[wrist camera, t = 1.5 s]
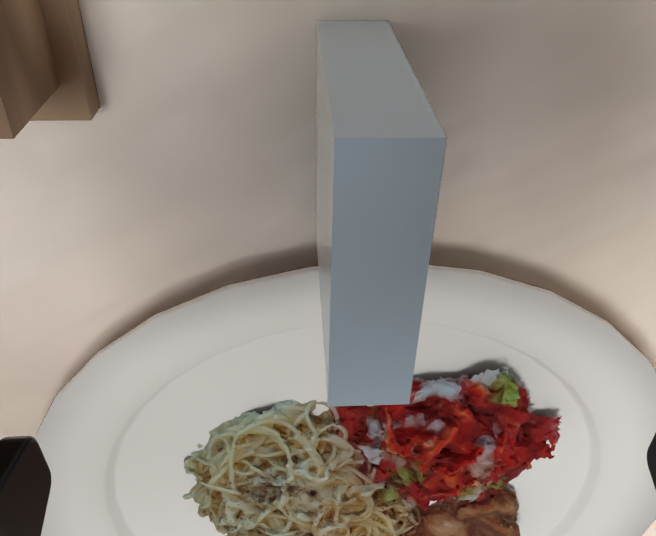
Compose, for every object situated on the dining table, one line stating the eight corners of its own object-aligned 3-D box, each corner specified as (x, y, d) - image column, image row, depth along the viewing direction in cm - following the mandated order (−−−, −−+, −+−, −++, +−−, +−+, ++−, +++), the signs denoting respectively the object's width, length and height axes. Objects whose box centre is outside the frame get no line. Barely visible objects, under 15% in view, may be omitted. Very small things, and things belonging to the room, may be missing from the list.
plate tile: (373, 229, 21) (409, 404, 15) (315, 230, 21) (327, 406, 15) (387, 20, 17) (446, 137, 11) (317, 20, 17) (334, 137, 11)
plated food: (39, 608, 36) (19, 672, 33) (37, 158, 20) (-4, 212, 17) (500, 640, 42) (515, 696, 39) (802, 313, 25) (864, 372, 23)
